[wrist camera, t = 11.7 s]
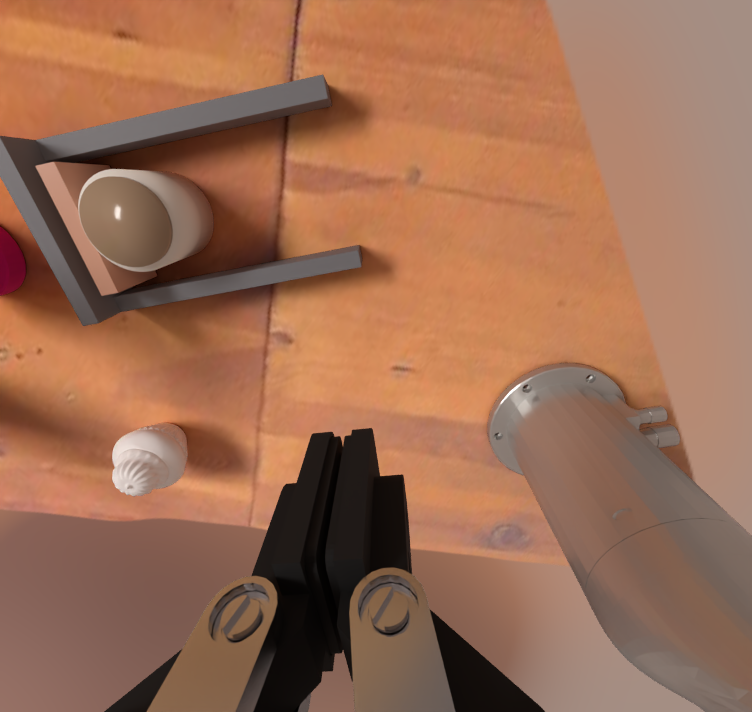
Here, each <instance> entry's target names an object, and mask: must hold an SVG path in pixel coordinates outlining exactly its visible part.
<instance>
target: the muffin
mask: <svg viewBox="0 0 752 712" xmlns="http://www.w3.org/2000/svg"><path fill="white" fill-rule="evenodd" d="M187 457H188V454H187V439H186V436H185V433H184V431H182V429H181V428H179V427H178V426H177V425H174V424H171V423H159V424H155V425H151V426H147V427H143V428H139V429H138V430H135V431H133V432H131V433H128V434H126V435H124V436H123V437H121V438H120V439H119V440H118V441H117V442H116V444H115V446H114V449H113V453H112V460H113V464H114V466H115V468H114V470H113V476H112V481H113V483H114V484H115V487H116V488H117V489H120V492H125V493H126V495H130V494H131V495H132V496H136V495H138V496H143V495H145V494H148V493H151V491H152V489H160V488H165V487H168V486H170V485H172V484H174V483H175V482H177V481H178V480H179V479H180V478H181V477H182V475H183V473H184V471H185V466H186V462H187Z"/></svg>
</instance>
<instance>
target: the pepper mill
mask: <svg viewBox="0 0 752 712" xmlns="http://www.w3.org/2000/svg"><path fill="white" fill-rule="evenodd" d="M25 275H26V263H25V260H24V257H23V254H22V251H21V250H20V248H19V246H18V245H17V243H16V242H15V240H14V239H13V238H12V237H11V236H10V235H9V234H8V232H7V231H5V230H4V229H3V228H2V227H0V296H1V295H5V294H8V293H11V292H13V291H15V290H17V289H18V288H19V287H20V286H21V285H22V283H23V281H24V278H25Z"/></svg>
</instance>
